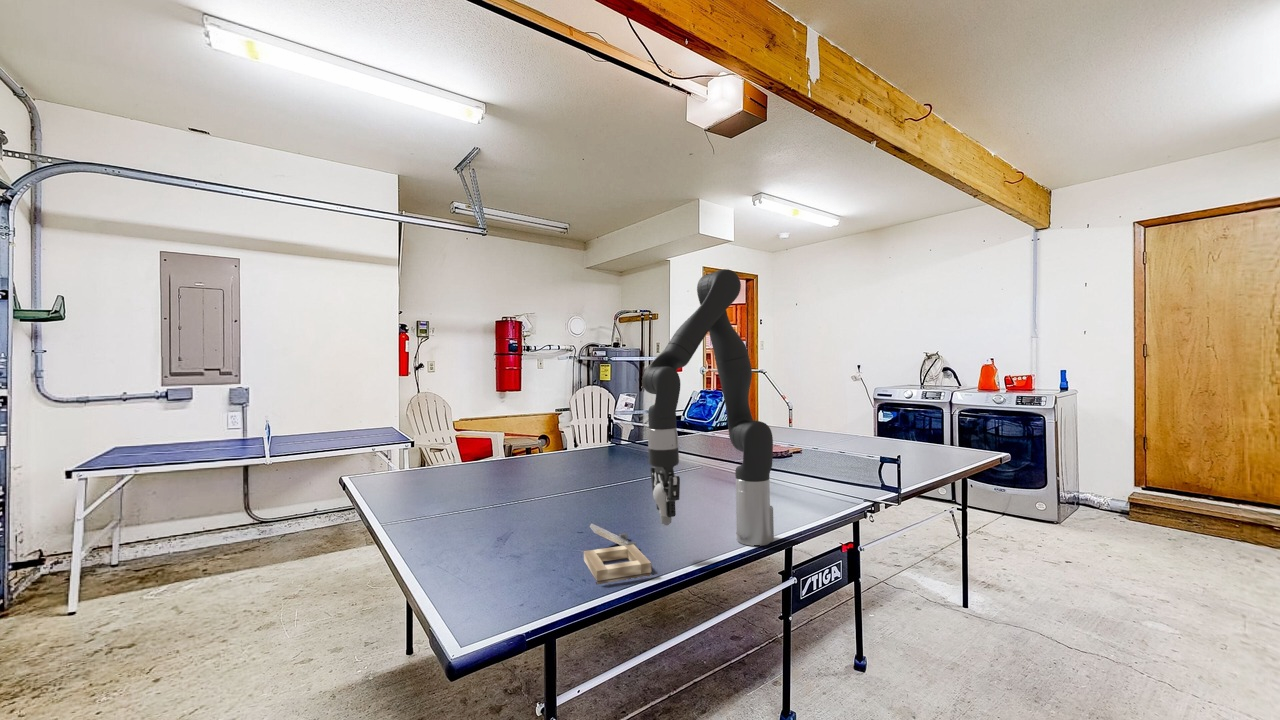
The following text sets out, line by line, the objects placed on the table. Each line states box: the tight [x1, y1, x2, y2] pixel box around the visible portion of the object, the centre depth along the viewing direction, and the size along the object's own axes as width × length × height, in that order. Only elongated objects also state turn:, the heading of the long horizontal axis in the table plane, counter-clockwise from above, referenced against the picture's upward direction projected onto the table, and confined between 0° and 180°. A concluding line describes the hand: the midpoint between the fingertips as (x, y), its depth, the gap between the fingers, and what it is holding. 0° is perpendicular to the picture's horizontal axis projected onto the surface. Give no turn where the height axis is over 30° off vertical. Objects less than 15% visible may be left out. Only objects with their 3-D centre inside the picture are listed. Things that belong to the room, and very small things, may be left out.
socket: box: [583, 544, 652, 585], centre depth 119 cm, size 13×13×3 cm
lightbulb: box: [652, 483, 676, 526], centre depth 125 cm, size 6×6×11 cm
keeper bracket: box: [618, 532, 637, 547], centre depth 134 cm, size 2×9×2 cm, turn 19°
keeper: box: [589, 522, 630, 546], centre depth 132 cm, size 12×6×1 cm, turn 109°
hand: (665, 512), depth 125 cm, fingers closed on lightbulb, 6 cm apart
